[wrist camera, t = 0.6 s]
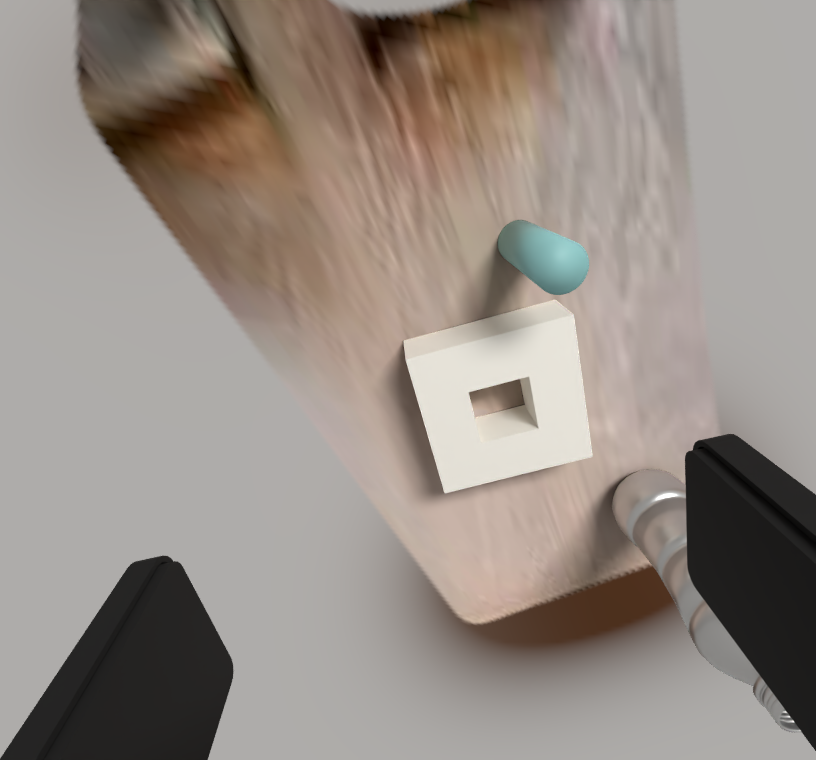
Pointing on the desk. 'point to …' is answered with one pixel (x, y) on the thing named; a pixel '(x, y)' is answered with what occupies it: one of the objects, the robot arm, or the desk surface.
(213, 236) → the desk surface
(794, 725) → the plastic bottle
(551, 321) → the hole block
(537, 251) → the peg
